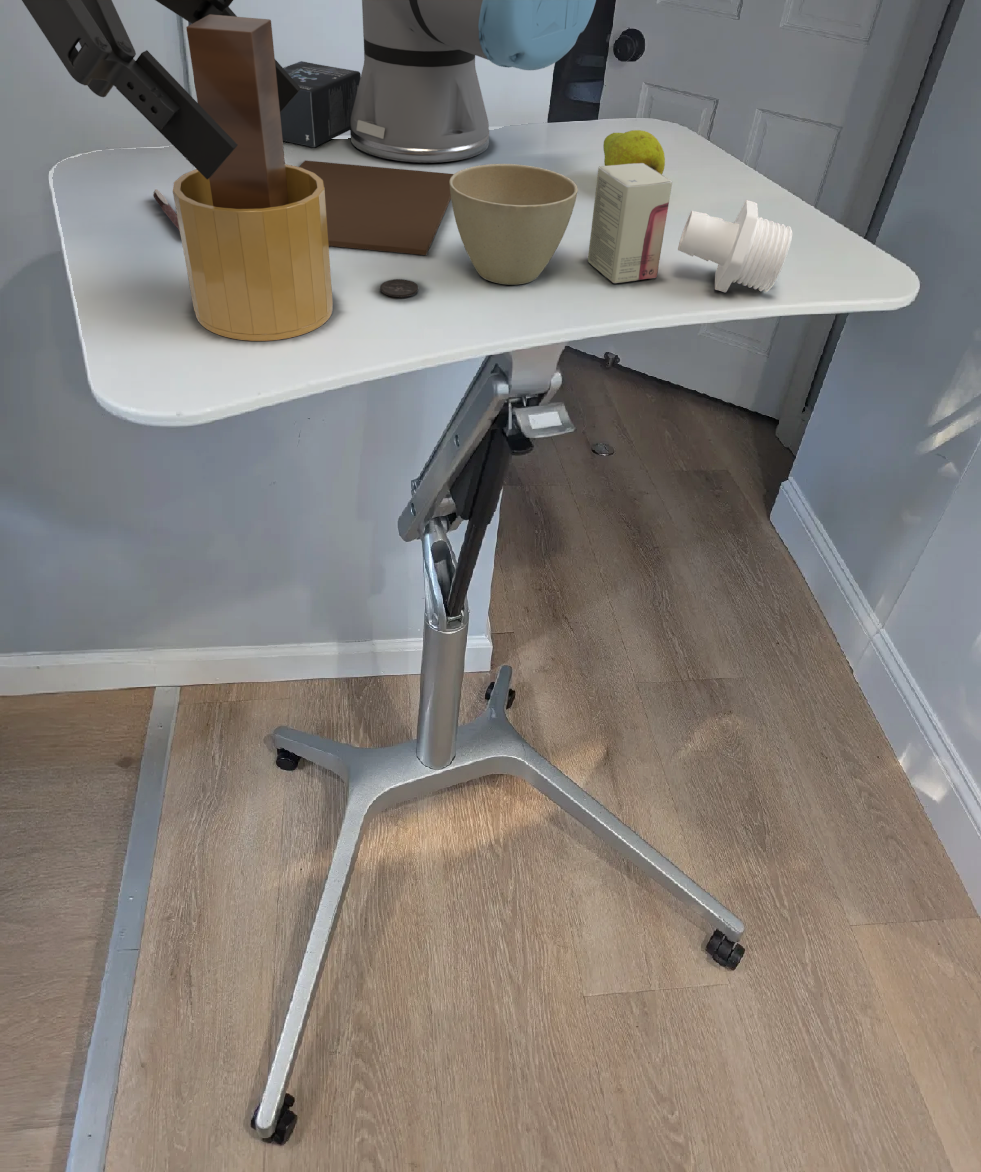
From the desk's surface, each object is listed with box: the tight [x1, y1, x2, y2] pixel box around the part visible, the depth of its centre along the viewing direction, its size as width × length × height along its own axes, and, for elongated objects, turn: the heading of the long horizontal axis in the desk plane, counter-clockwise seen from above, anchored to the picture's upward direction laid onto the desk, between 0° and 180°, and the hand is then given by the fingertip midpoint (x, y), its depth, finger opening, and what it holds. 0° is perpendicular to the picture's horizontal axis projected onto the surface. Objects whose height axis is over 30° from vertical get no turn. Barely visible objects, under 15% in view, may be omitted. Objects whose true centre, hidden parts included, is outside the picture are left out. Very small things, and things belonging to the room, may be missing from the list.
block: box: [185, 15, 289, 209], centre depth 61 cm, size 4×4×18 cm
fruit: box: [603, 129, 666, 175], centre depth 91 cm, size 6×6×12 cm
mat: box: [298, 160, 455, 256], centre depth 84 cm, size 20×16×1 cm
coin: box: [379, 278, 419, 298], centre depth 71 cm, size 3×1×3 cm
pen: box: [152, 189, 180, 232], centre depth 79 cm, size 11×1×1 cm, turn 29°
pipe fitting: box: [677, 199, 793, 294], centre depth 73 cm, size 6×7×8 cm
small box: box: [587, 163, 673, 284], centre depth 73 cm, size 5×4×8 cm
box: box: [280, 60, 362, 148], centre depth 99 cm, size 8×6×11 cm
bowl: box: [449, 163, 579, 286], centre depth 72 cm, size 10×10×7 cm
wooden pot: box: [172, 163, 334, 342], centre depth 64 cm, size 10×10×9 cm
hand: (258, 131), depth 59 cm, fingers open, 13 cm apart
